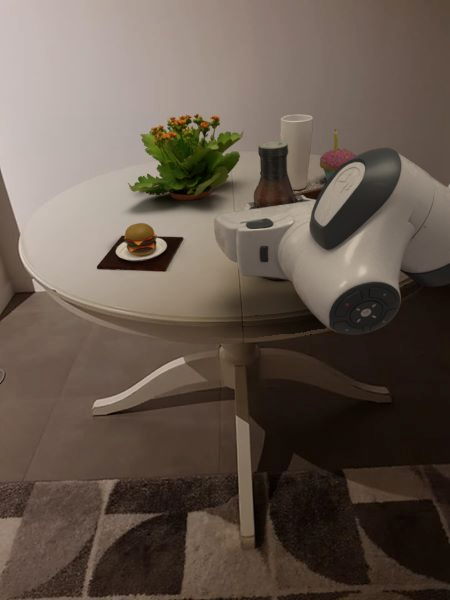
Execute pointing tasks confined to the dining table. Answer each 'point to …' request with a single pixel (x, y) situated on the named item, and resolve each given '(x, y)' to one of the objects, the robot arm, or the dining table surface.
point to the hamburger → (141, 250)
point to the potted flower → (188, 159)
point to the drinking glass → (297, 147)
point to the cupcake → (334, 158)
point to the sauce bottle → (273, 177)
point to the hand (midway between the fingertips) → (273, 203)
